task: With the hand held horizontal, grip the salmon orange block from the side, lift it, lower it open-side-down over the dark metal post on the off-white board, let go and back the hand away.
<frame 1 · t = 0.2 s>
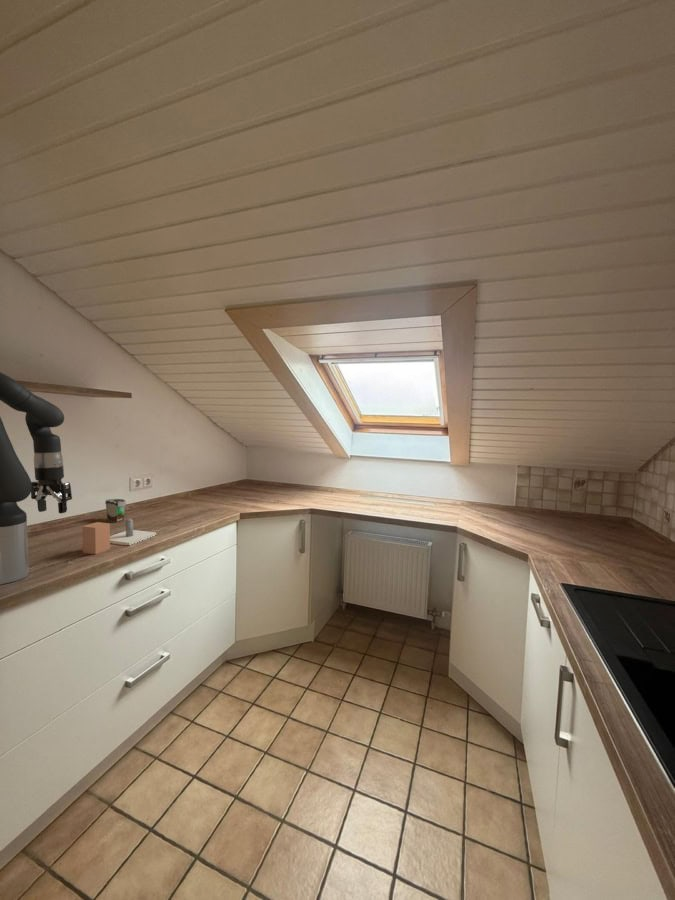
hand: (52, 512, 117), 18 cm above the countertop, tool pointing down, fingers open, 8 cm apart
salmon orange block: (96, 550, 129), on the countertop
food container: (118, 520, 171), on the countertop
post: (129, 538, 144), on the countertop
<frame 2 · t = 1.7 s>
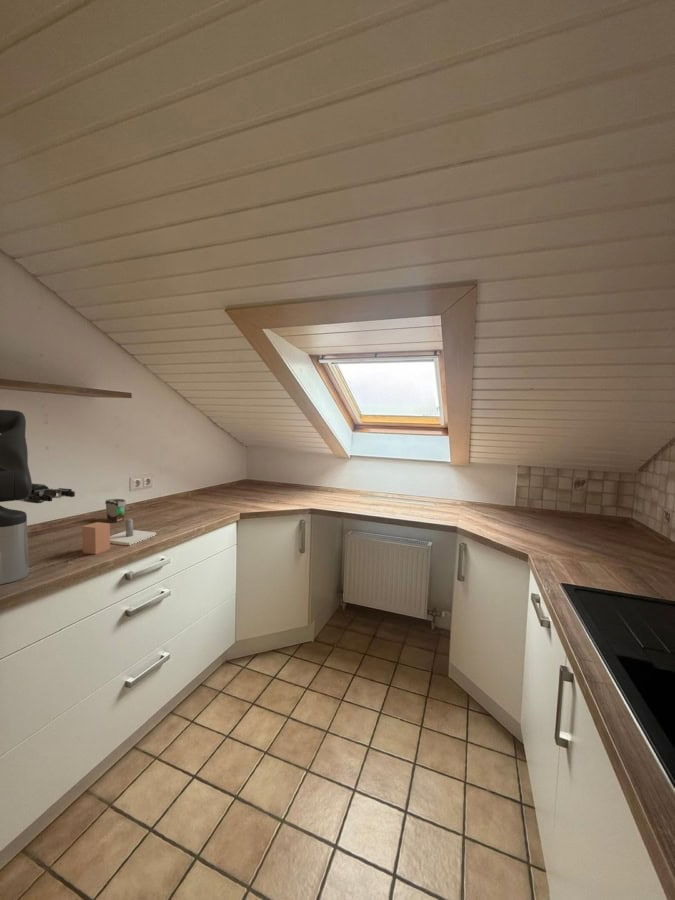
hand: (63, 496, 132), 20 cm above the countertop, tool horizontal, fingers open, 8 cm apart
nothing on the countertop moved.
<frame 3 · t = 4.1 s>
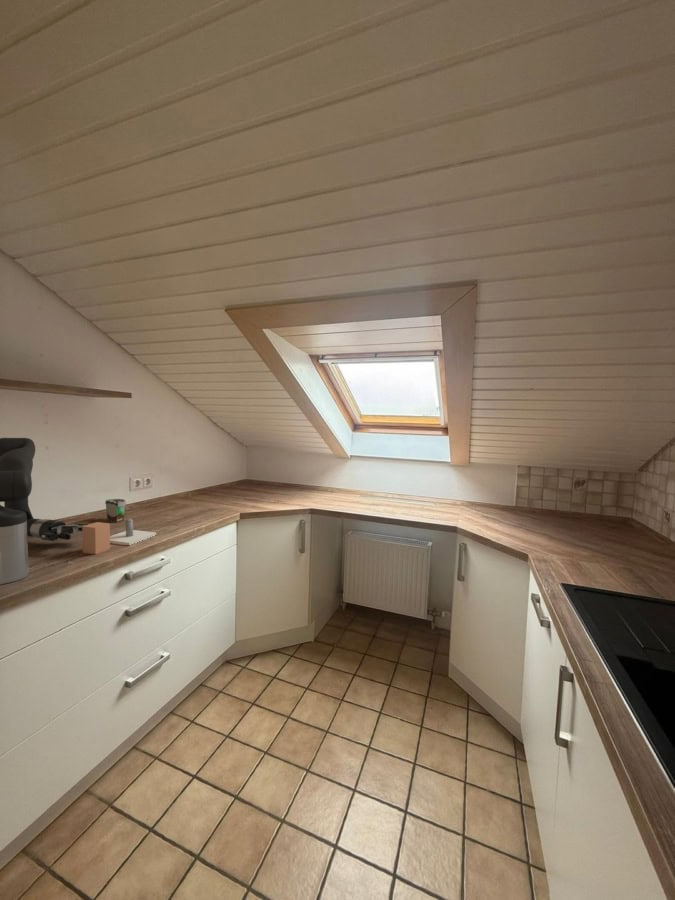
hand: (80, 533, 131), 6 cm above the countertop, tool horizontal, fingers open, 8 cm apart
nothing on the countertop moved.
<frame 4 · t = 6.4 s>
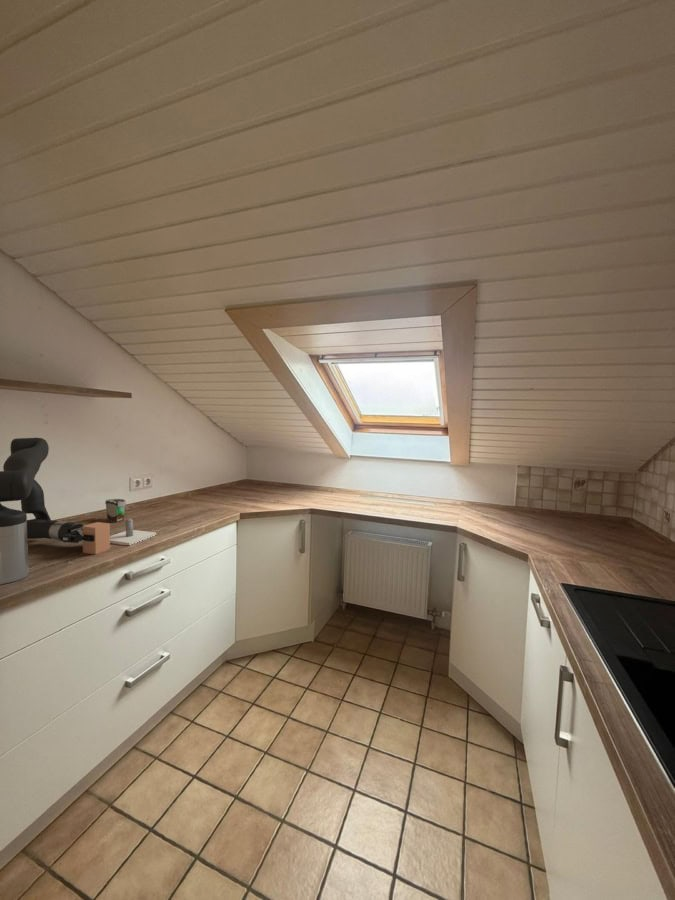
hand: (101, 535, 129), 6 cm above the countertop, tool horizontal, fingers closed on salmon orange block, 6 cm apart
salmon orange block: (96, 550, 129), on the countertop, touching gripper
everything else where it was.
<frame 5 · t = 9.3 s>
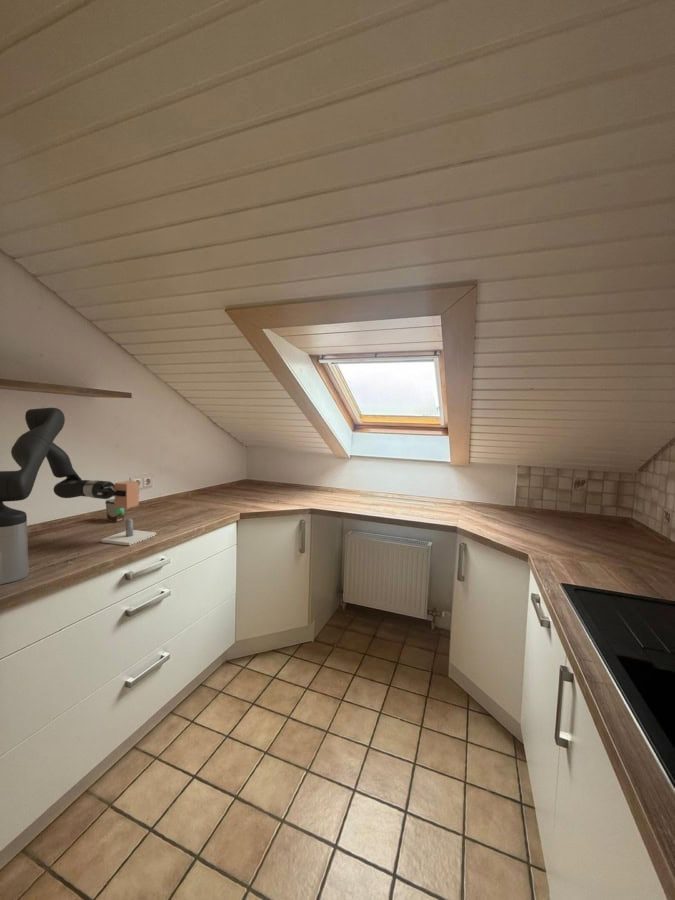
hand: (131, 492, 142), 20 cm above the countertop, tool horizontal, fingers closed on salmon orange block, 6 cm apart
salmon orange block: (127, 506, 142), point 14 cm above the countertop, touching gripper
everything else where it was.
when the fingers open (8 cm above the countertop, at t = 12.7 s): salmon orange block drops 1 cm, resting on post.
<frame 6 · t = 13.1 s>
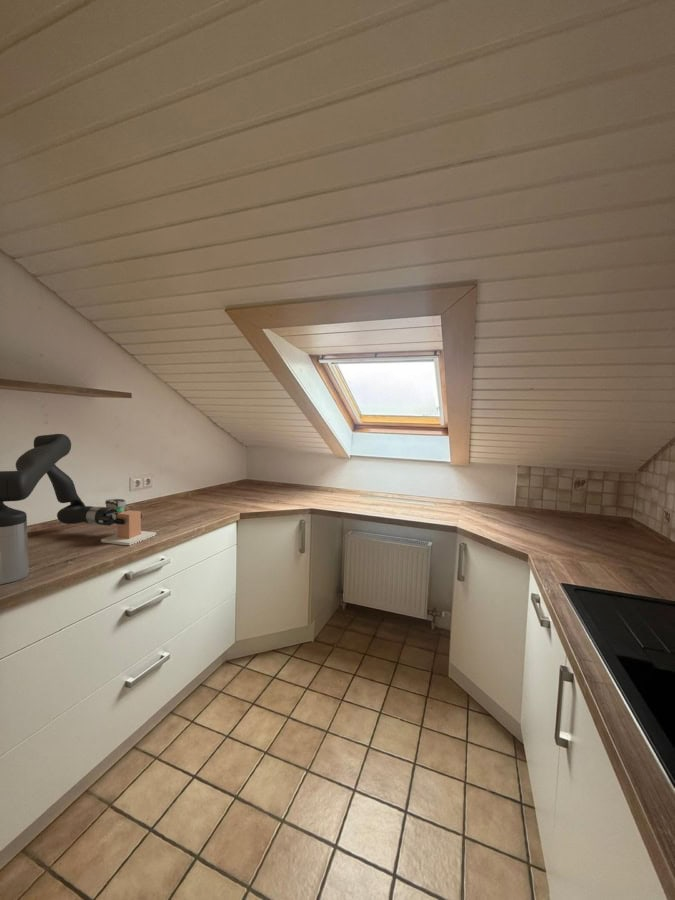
hand: (133, 519, 143), 8 cm above the countertop, tool horizontal, fingers open, 8 cm apart
salmon orange block: (129, 535, 144), point 1 cm above the countertop, touching post
everything else where it was.
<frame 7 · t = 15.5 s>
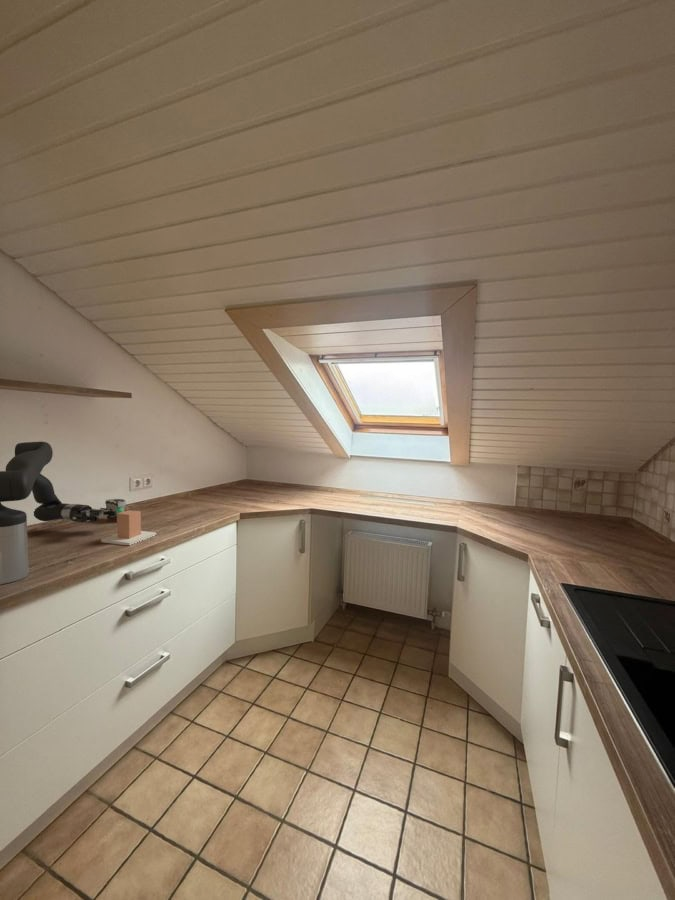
hand: (106, 516, 146), 9 cm above the countertop, tool horizontal, fingers open, 8 cm apart
nothing on the countertop moved.
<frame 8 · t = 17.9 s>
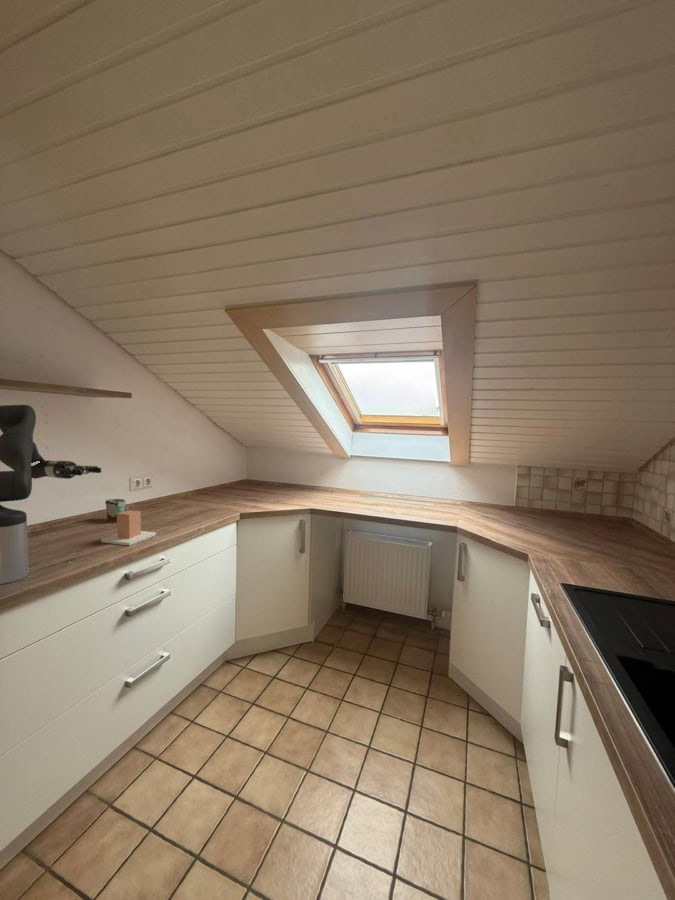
hand: (91, 471, 143), 28 cm above the countertop, tool horizontal, fingers open, 8 cm apart
nothing on the countertop moved.
at the end: salmon orange block 0.1 cm from the post (horizontally); salmon orange block point 1.2 cm above the countertop; the gripper is holding nothing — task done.
